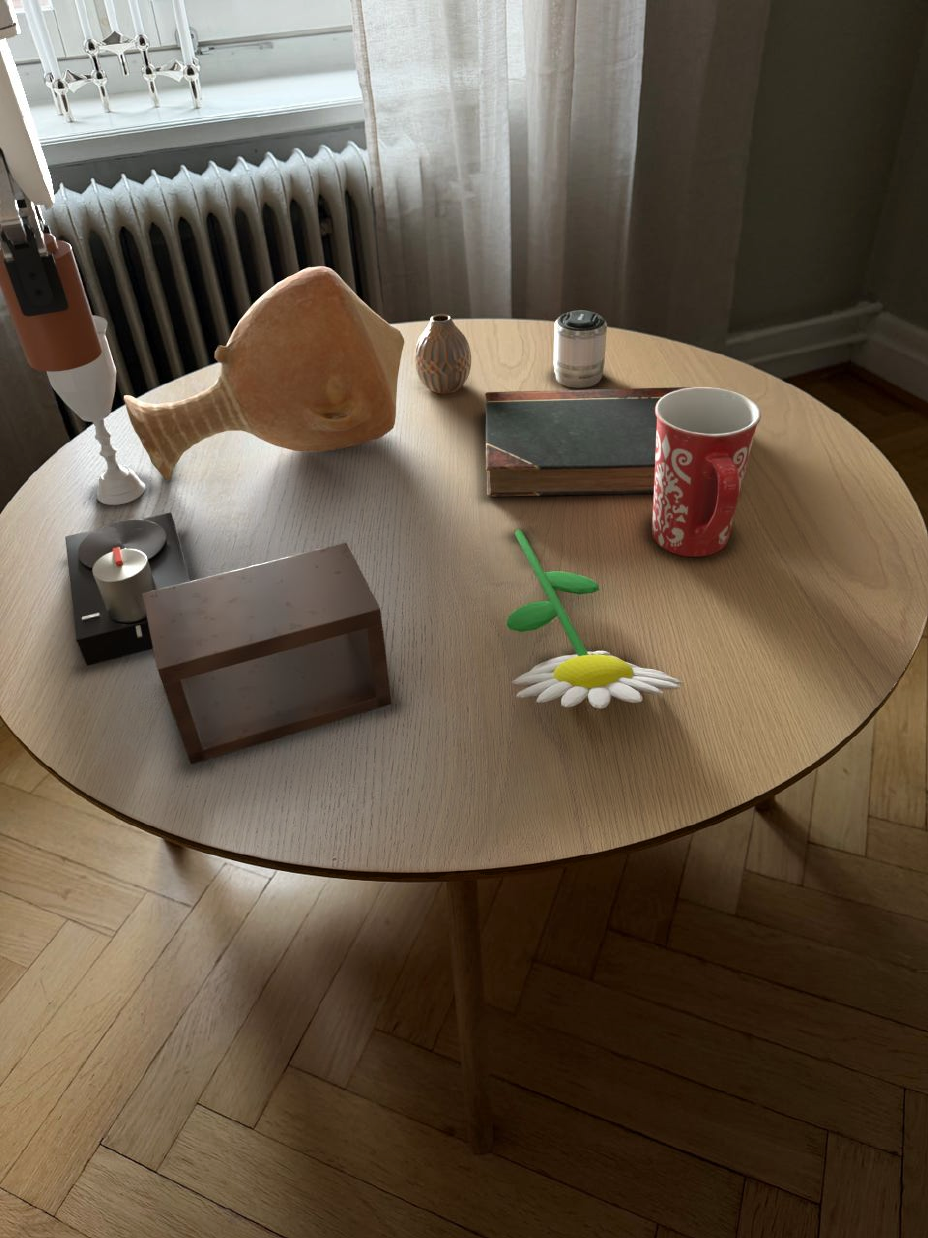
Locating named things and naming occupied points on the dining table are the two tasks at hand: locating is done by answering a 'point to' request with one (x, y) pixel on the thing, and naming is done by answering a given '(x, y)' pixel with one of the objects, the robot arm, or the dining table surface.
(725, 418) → the mug
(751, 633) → the dining table surface
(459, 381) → the vase
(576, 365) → the camera lens
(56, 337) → the bottle
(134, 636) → the stove
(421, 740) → the dining table surface
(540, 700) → the decorative flower
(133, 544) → the burner
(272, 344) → the jug
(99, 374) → the chalice
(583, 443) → the book
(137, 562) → the stove knob
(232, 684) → the shelf
